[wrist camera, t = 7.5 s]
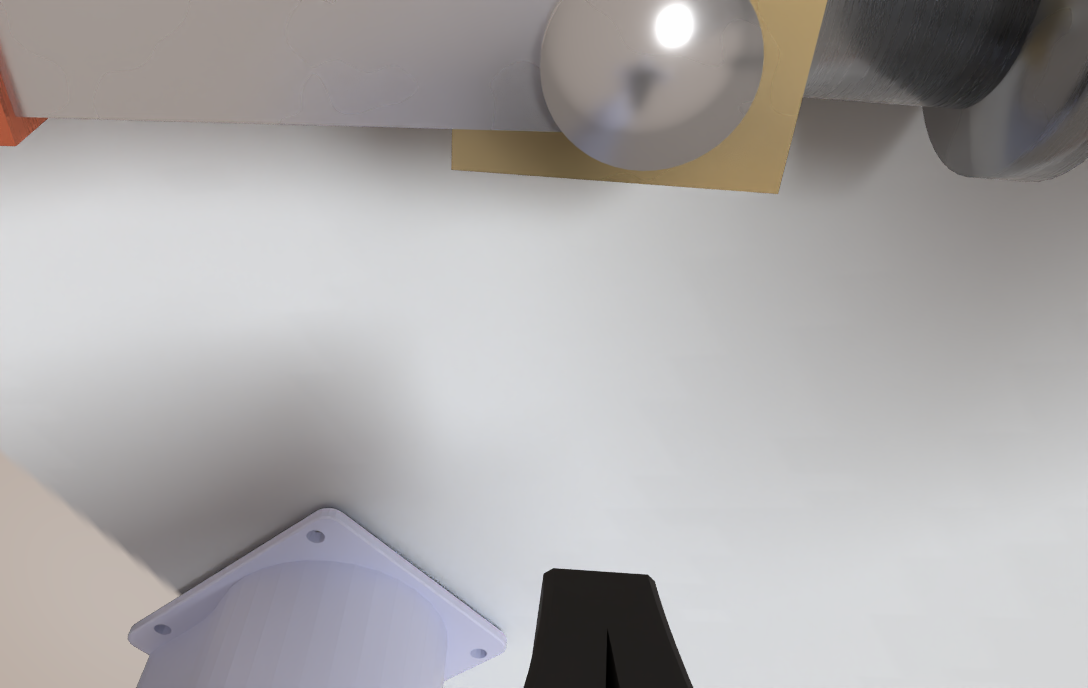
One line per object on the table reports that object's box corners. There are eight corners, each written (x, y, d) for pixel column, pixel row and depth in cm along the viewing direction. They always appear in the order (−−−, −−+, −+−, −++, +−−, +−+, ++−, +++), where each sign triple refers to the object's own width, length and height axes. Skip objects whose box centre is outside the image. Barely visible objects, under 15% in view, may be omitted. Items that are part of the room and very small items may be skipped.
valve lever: (759, -75, 11) (783, -46, 10) (727, 128, 12) (744, 173, 11) (-365, -108, 11) (-471, -82, 10) (-253, 101, 12) (-335, 143, 11)
